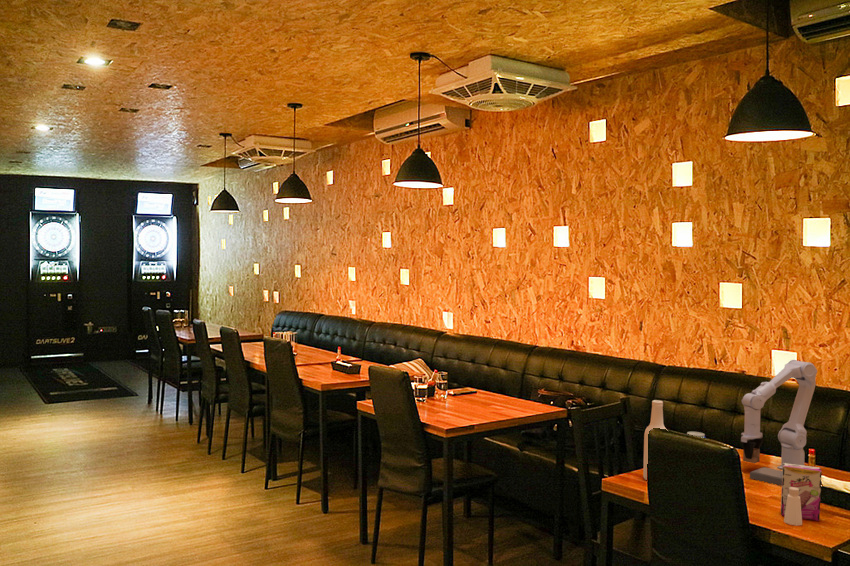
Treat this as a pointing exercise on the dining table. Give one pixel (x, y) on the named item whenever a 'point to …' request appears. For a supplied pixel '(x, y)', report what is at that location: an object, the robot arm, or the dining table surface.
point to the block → (753, 456)
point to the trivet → (767, 475)
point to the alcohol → (655, 423)
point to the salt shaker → (793, 508)
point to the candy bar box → (802, 488)
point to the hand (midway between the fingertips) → (751, 457)
